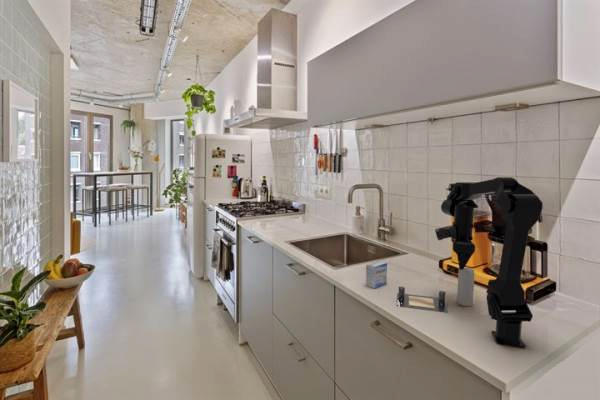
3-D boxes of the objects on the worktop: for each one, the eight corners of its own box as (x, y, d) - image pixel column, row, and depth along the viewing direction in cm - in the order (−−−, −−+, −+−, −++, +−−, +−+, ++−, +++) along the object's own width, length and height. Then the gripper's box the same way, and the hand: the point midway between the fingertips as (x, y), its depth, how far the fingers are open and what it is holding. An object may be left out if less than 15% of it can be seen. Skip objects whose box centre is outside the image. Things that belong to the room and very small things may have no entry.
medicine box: (374, 289, 125) (375, 266, 124) (365, 285, 128) (365, 264, 127) (386, 284, 130) (387, 262, 129) (377, 281, 133) (378, 260, 132)
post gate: (448, 314, 105) (449, 299, 104) (396, 308, 110) (396, 293, 109) (444, 300, 116) (445, 286, 116) (397, 294, 121) (397, 281, 121)
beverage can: (463, 307, 109) (466, 272, 107) (453, 301, 113) (455, 268, 112) (476, 306, 110) (478, 271, 109) (465, 300, 115) (467, 266, 113)
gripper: (437, 213, 121) (434, 254, 123) (437, 223, 104) (434, 270, 106) (471, 215, 117) (468, 258, 119) (477, 226, 100) (473, 275, 102)
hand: (460, 265), depth 112 cm, fingers open, 9 cm apart
